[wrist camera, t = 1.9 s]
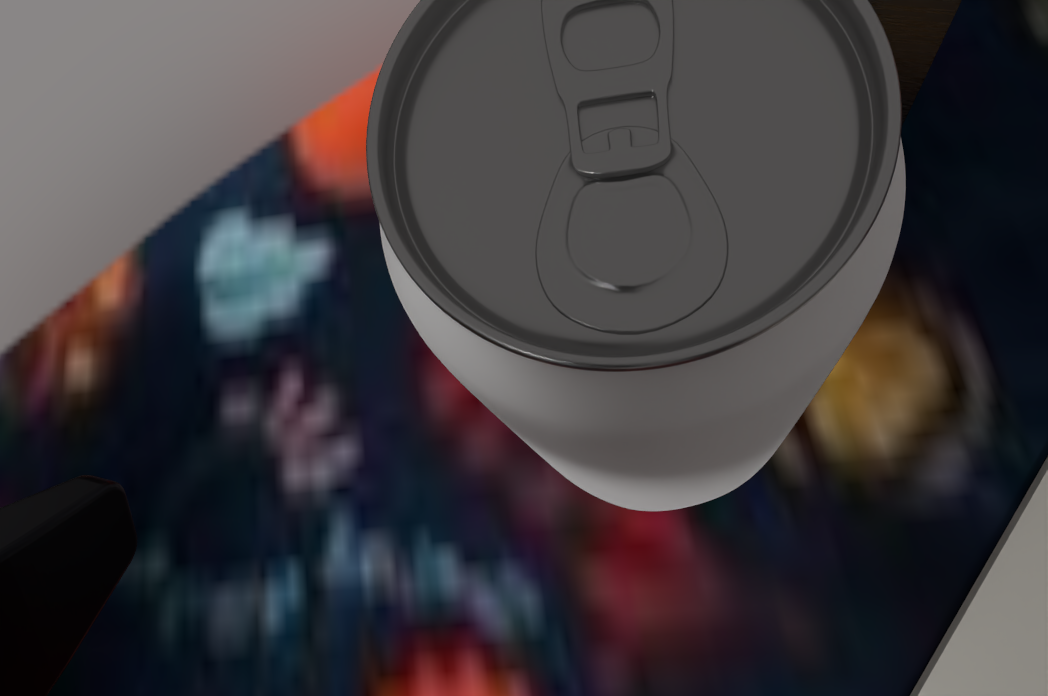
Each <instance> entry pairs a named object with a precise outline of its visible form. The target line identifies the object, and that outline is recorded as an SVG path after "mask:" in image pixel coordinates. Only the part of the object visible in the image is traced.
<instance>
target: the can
mask: <svg viewBox="0 0 1048 696" xmlns="http://www.w3.org/2000/svg"><path fill="white" fill-rule="evenodd" d="M901 126H902V103H901V91H900V83H899V77H898V71H897V67H896V63H895V59H894V56H893V52H892V49H891V46H890V43H889V41H888V38H887V35H886V33H885V31H884V28H883V26H882V24H881V22H880V20H879V18H878V16H877V14H876V13H875V11H874V9H873V7H872V6H871V4H870V2H869V1H868V0H420V2H419V3H418V4H417V6H416V7H415V8H414V10H413V11H412V12H411V14H410V15H409V17H408V18H407V20H406V21H405V23H404V24H403V26H402V28H401V29H400V31H399V32H398V34H397V36H396V38H395V40H394V41H393V43H392V45H391V47H390V50H389V52H388V54H387V56H386V58H385V60H384V63H383V65H382V68H381V70H380V73H379V76H378V79H377V82H376V85H375V89H374V93H373V97H372V101H371V106H370V111H369V117H368V126H367V138H366V157H367V171H368V178H369V185H370V190H371V195H372V199H373V203H374V206H375V210H376V213H377V216H378V219H379V221H380V231H381V239H382V245H383V250H384V255H385V259H386V263H387V267H388V270H389V274H390V277H391V279H392V282H393V285H394V288H395V290H396V292H397V295H398V297H399V299H400V301H401V303H402V305H403V307H404V309H405V311H406V313H407V314H408V316H409V318H410V320H411V321H412V323H413V325H414V326H415V328H416V329H417V331H418V333H419V334H420V336H421V337H422V338H423V340H424V341H425V343H426V344H427V345H428V347H429V348H430V349H431V350H432V352H433V353H434V354H435V355H436V357H437V358H438V359H439V360H440V361H441V362H442V363H443V364H444V365H445V367H446V368H447V369H448V370H449V371H450V372H451V373H452V374H453V375H454V376H455V377H456V378H457V379H458V380H459V381H460V382H461V383H462V384H463V385H464V386H465V387H466V388H467V389H468V390H469V391H470V392H471V393H472V394H473V395H474V396H475V397H476V398H477V399H478V400H480V401H481V402H482V403H483V404H484V405H485V406H486V407H487V408H488V409H489V410H490V411H491V412H493V413H494V414H495V415H496V416H497V417H498V418H499V419H500V420H501V421H502V422H503V423H504V424H506V425H507V426H508V427H509V428H510V429H511V430H512V431H513V432H514V433H515V434H517V435H518V436H519V437H520V438H521V439H522V440H523V441H524V442H525V443H526V444H528V445H529V446H530V447H531V448H532V449H533V450H534V451H535V452H537V453H538V454H539V455H540V456H541V457H542V458H543V459H544V460H546V461H547V462H548V463H549V464H550V465H551V466H552V467H554V468H555V469H556V470H557V471H558V472H560V473H561V474H562V475H563V476H564V477H566V478H567V479H568V480H570V481H571V482H572V483H574V484H575V485H577V486H578V487H580V488H581V489H583V490H584V491H586V492H588V493H590V494H592V495H593V496H596V497H598V498H600V499H602V500H604V501H607V502H609V503H612V504H615V505H617V506H620V507H624V508H628V509H633V510H640V511H667V510H675V509H681V508H686V507H690V506H694V505H697V504H701V503H704V502H707V501H710V500H713V499H715V498H718V497H720V496H722V495H725V494H727V493H729V492H730V491H732V490H734V489H736V488H737V487H739V486H740V485H742V484H743V483H744V482H746V481H747V480H748V479H750V478H751V477H752V476H753V475H754V474H755V473H756V472H757V471H759V470H760V469H761V468H762V466H763V465H764V464H765V463H766V462H767V461H768V460H769V459H770V458H771V456H772V455H773V454H774V453H775V451H776V450H777V449H778V447H779V446H780V445H781V443H782V442H783V441H784V439H785V438H786V436H787V435H788V434H789V432H790V431H791V429H792V428H793V426H794V425H795V424H796V422H797V421H798V419H799V418H800V416H801V415H802V413H803V412H804V411H805V409H806V408H807V406H808V405H809V403H810V402H811V400H812V399H813V397H814V396H815V394H816V393H817V392H818V390H819V389H820V387H821V386H822V384H823V383H824V381H825V380H826V378H827V377H828V375H829V374H830V372H831V371H832V369H833V368H834V366H835V365H836V363H837V362H838V360H839V359H840V357H841V356H842V354H843V353H844V351H845V350H846V348H847V346H848V345H849V343H850V342H851V340H852V339H853V337H854V336H855V334H856V332H857V331H858V329H859V328H860V326H861V324H862V323H863V321H864V319H865V317H866V316H867V314H868V312H869V310H870V308H871V307H872V305H873V303H874V301H875V299H876V297H877V296H878V293H879V291H880V289H881V287H882V285H883V283H884V280H885V278H886V276H887V273H888V270H889V268H890V265H891V262H892V259H893V256H894V252H895V249H896V246H897V242H898V239H899V234H900V230H901V225H902V220H903V214H904V205H905V191H906V175H905V161H904V152H903V146H902V140H901Z"/></svg>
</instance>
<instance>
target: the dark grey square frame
mask: <svg viewBox="0 0 1048 696" xmlns="http://www.w3.org/2000/svg"><path fill="white" fill-rule="evenodd" d="M868 1H869V2H870V4H871V6H872V7H873V9H874V11H875V13H876V14H877V16H878V18H879V20H880V22H881V24H882V26H883V28H884V31H885V33H886V35H887V38H888V41H889V43H890V46H891V49H892V52H893V56H894V59H895V63H896V67H897V71H898V77H899V83H900V91H901V103H902V125H903V123H904V121H905V118H906V116H907V114H908V112H909V110H910V108H911V106H912V104H913V102H914V99H915V97H916V95H917V93H918V91H919V89H920V87H921V85H922V83H923V80H924V78H925V76H926V74H927V72H928V70H929V68H930V66H931V64H932V61H933V59H934V57H935V55H936V53H937V51H938V49H939V47H940V45H941V42H942V40H943V38H944V36H945V34H946V32H947V30H948V28H949V26H950V23H951V21H952V19H953V17H954V15H955V13H956V11H957V9H958V7H959V4H960V2H961V0H868ZM901 127H902V126H901Z"/></svg>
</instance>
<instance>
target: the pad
mask: <svg viewBox="0 0 1048 696" xmlns="http://www.w3.org/2000/svg"><path fill="white" fill-rule="evenodd" d="M910 696H1048V457H1047V458H1046V460H1045V462H1044V464H1043V465H1042V467H1041V469H1040V471H1039V472H1038V474H1037V476H1036V477H1035V479H1034V481H1033V483H1032V484H1031V486H1030V488H1029V490H1028V491H1027V493H1026V495H1025V497H1024V498H1023V500H1022V502H1021V503H1020V505H1019V507H1018V509H1017V510H1016V512H1015V514H1014V516H1013V517H1012V519H1011V521H1010V523H1009V524H1008V526H1007V528H1006V530H1005V531H1004V533H1003V535H1002V536H1001V538H1000V540H999V542H998V543H997V545H996V547H995V549H994V550H993V552H992V554H991V556H990V557H989V559H988V561H987V563H986V564H985V566H984V568H983V569H982V571H981V573H980V575H979V576H978V578H977V580H976V582H975V583H974V585H973V587H972V589H971V590H970V592H969V594H968V595H967V597H966V599H965V601H964V602H963V604H962V606H961V608H960V609H959V611H958V613H957V615H956V616H955V618H954V620H953V622H952V623H951V625H950V627H949V628H948V630H947V632H946V634H945V635H944V637H943V639H942V641H941V642H940V644H939V646H938V648H937V649H936V651H935V653H934V655H933V656H932V658H931V660H930V661H929V663H928V665H927V667H926V668H925V670H924V672H923V674H922V675H921V677H920V679H919V681H918V682H917V684H916V686H915V687H914V689H913V691H912V693H911V694H910Z"/></svg>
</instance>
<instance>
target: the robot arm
mask: <svg viewBox="0 0 1048 696" xmlns="http://www.w3.org/2000/svg"><path fill="white" fill-rule="evenodd" d="M136 547H137V533H136V530H135V526H134V522H133V519H132V515H131V511H130V508H129V504H128V500H127V497H126V493H125V491H124V489H123V487H122V486H121V485H120V484H119V483H117V482H115V481H111V480H107V479H103V478H99V477H95V476H90V475H84V476H79V477H76V478H74V479H71V480H69V481H66V482H64V483H61V484H59V485H56V486H54V487H51V488H49V489H46V490H44V491H41V492H39V493H36V494H34V495H32V496H29V497H27V498H24V499H22V500H19V501H17V502H14V503H12V504H9V505H7V506H4V507H2V508H0V696H46V695H47V694H48V693H49V691H50V690H51V688H52V687H53V686H54V684H55V683H56V681H57V680H58V678H59V677H60V675H61V674H62V672H63V671H64V669H65V668H66V666H67V665H68V663H69V662H70V660H71V658H72V657H73V655H74V653H75V652H76V650H77V649H78V647H79V645H80V644H81V642H82V640H83V639H84V637H85V636H86V634H87V632H88V631H89V629H90V627H91V626H92V624H93V623H94V621H95V619H96V618H97V616H98V614H99V613H100V611H101V610H102V608H103V606H104V605H105V603H106V601H107V600H108V598H109V597H110V595H111V593H112V592H113V590H114V588H115V587H116V585H117V584H118V582H119V580H120V579H121V577H122V575H123V574H124V572H125V571H126V569H127V567H128V566H129V564H130V562H131V561H132V559H133V556H134V554H135V551H136Z"/></svg>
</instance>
